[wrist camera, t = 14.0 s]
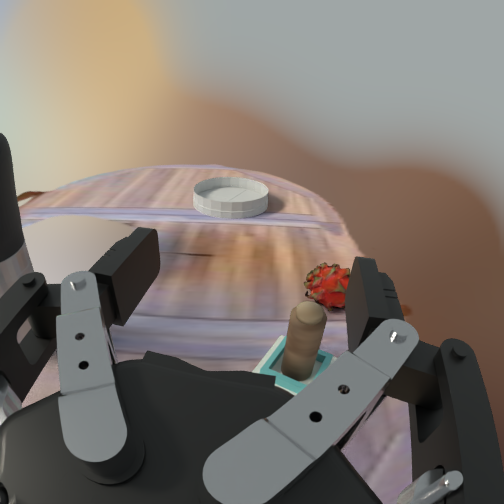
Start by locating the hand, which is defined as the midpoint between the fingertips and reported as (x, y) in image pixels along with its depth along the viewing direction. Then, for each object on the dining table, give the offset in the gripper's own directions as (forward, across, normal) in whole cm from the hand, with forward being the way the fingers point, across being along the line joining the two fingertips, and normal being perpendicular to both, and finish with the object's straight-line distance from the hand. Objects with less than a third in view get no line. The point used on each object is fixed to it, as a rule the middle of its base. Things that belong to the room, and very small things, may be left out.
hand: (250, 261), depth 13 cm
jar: (+19, -5, +29) cm, 35 cm away
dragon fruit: (+37, -11, +30) cm, 49 cm away
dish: (+77, +17, +31) cm, 85 cm away
